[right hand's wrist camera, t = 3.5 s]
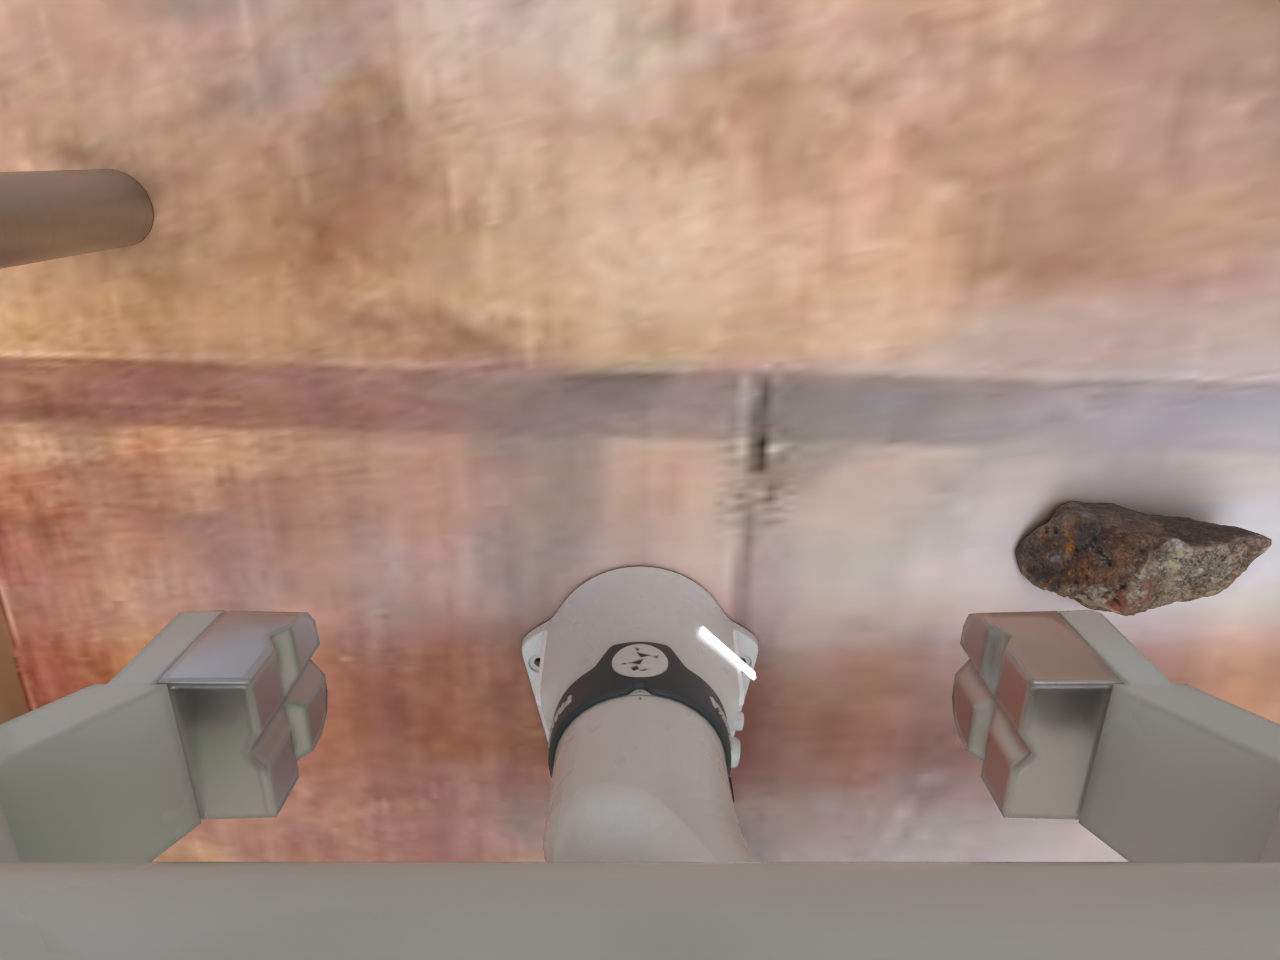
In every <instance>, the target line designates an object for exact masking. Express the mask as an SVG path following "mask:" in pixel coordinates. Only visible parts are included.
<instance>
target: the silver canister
mask: <svg viewBox="0 0 1280 960" xmlns="http://www.w3.org/2000/svg"><path fill="white" fill-rule="evenodd" d="M152 223H153V209H152V205H151V202H150V199H149V197H148V195H147V194H146V192H145V190H144V189H143V188H142V187H141V185H140V184H139V183H138V182H137V181H135V180H134V179H133V178H131V177H130V176H128V175H127V174H125V173H122V172H120V171H116V170H111V169H100V170H65V171H30V172H0V269H1V268H7V267H13V266H18V265H24V264H29V263H35V262H40V261H46V260H52V259H57V258H63V257H68V256H74V255H79V254H85V253H91V252H96V251H102V250H107V249H113V248H119V247H124V246H130V245H134V244H136V243H138V242H140V241H142V240H143V239H144V238H145V237H146V236H147V235H148V233H149V231H150V229H151V227H152Z"/></svg>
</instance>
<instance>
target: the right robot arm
mask: <svg viewBox="0 0 1280 960" xmlns="http://www.w3.org/2000/svg"><path fill="white" fill-rule="evenodd" d="M319 644H320V642H319V637H318V633H317V628H316V623H315V620H314V619H313V618H312V617H311V615H310V614H309V613H308V612H259V611H228V612H227V611H225V610H211V611H187V612H181V613H179V614H178V615H177V616H176V617H175V618H174V619H173V620H172V621H171V622H170V623H169V624H168V625H167V626H166V627H165V628H164V629H163V630H162V631H161V632H160V633H159V634H158V635H156V636H155V637H154V638H153V639H152V640H151V641H150V642H149V643H148V644H147V645H146V646H145V647H144V648H143V649H142V650H141V651H140V652H139V653H138V654H137V655H136V656H135V657H134V658H133V659H132V660H131V661H130V662H129V663H128V664H127V665H126V666H125V667H124V668H123V669H122V670H121V671H120V672H119V673H118V674H117V675H116V676H115V677H114V678H113V679H112V680H111V681H110V682H109V683H108V684H93V685H91V686H88V687H86V688H84V689H81V690H79V691H77V692H74V693H72V694H70V695H67V696H65V697H63V698H60V699H58V700H56V701H54V702H51V703H49V704H47V705H44V706H42V707H40V708H37V709H35V710H33V711H30V712H28V713H26V714H23V715H21V716H19V717H17V718H14V719H12V720H10V721H7V722H5V723H3V724H0V960H1280V725H1279V724H1277V723H1275V722H1273V721H1270V720H1268V719H1266V718H1263V717H1261V716H1259V715H1256V714H1254V713H1252V712H1249V711H1247V710H1245V709H1243V708H1240V707H1238V706H1236V705H1233V704H1231V703H1229V702H1226V701H1224V700H1222V699H1219V698H1217V697H1215V696H1213V695H1210V694H1208V693H1206V692H1203V691H1201V690H1199V689H1196V688H1194V687H1192V686H1189V685H1187V684H1172V683H1171V682H1170V681H1169V680H1168V679H1167V678H1166V677H1165V676H1164V675H1163V674H1162V673H1161V672H1160V671H1159V670H1158V669H1157V668H1156V667H1155V666H1154V665H1153V664H1152V663H1151V662H1150V661H1149V660H1148V659H1147V658H1146V657H1145V656H1144V655H1143V654H1142V653H1141V652H1140V651H1139V650H1138V649H1137V648H1136V647H1135V646H1134V645H1133V644H1132V643H1131V642H1130V641H1129V640H1128V639H1127V638H1126V637H1125V636H1124V635H1123V634H1122V633H1121V632H1120V631H1119V630H1118V629H1117V628H1116V627H1115V626H1114V625H1113V624H1112V623H1110V622H1109V621H1108V620H1107V619H1106V618H1105V617H1104V616H1103V615H1102V614H1101V613H1098V612H1095V611H1092V610H1078V611H1045V612H1004V613H975V614H969V615H968V617H967V619H966V621H965V624H964V626H963V631H962V637H961V642H960V644H961V646H962V647H963V649H964V650H965V652H966V653H967V655H968V657H969V658H970V660H969V661H968V662H967V663H966V664H965V665H964V666H963V667H962V668H961V669H960V670H959V671H958V672H957V673H956V674H955V679H954V687H953V695H952V701H953V713H954V721H955V724H956V727H957V731H958V734H959V737H960V738H961V740H962V742H963V744H964V746H965V748H966V750H967V751H969V752H970V753H972V754H973V755H975V756H977V757H978V758H980V759H981V760H983V766H982V772H981V777H982V779H983V781H984V783H985V784H986V786H987V788H988V790H989V792H990V793H991V795H992V797H993V799H994V801H995V802H996V804H997V806H998V808H999V810H1000V811H1001V813H1002V815H1003V817H1011V818H1048V819H1079V823H1080V824H1081V825H1082V826H1084V827H1085V828H1086V829H1088V830H1089V831H1090V832H1091V833H1093V834H1094V835H1095V836H1097V837H1098V838H1099V839H1100V840H1102V841H1103V842H1104V843H1106V844H1107V845H1108V846H1110V847H1111V848H1112V849H1113V850H1115V851H1116V852H1117V853H1119V854H1120V855H1121V856H1122V857H1124V858H1125V859H1126V860H1128V861H1129V862H758V860H757V859H756V858H755V856H754V855H753V853H752V852H751V850H750V849H749V847H748V845H747V843H746V841H745V839H744V837H743V835H742V832H741V829H740V826H739V822H738V819H737V815H736V811H735V808H734V803H733V802H734V796H733V789H732V782H731V778H730V777H729V775H730V769H731V768H735V767H737V766H738V763H739V759H740V740H739V739H738V738H737V737H734V734H735V731H742V729H743V725H744V714H743V713H742V712H741V710H742V707H743V704H744V700H745V697H746V693H747V690H748V686H749V683H750V680H751V679H752V680H754V679H755V678H756V674H755V671H753V669H754V666H755V663H756V659H757V656H758V641H757V638H756V637H755V636H754V635H753V634H752V633H751V632H749V631H748V630H747V629H745V628H743V627H742V626H740V625H738V624H736V623H735V622H733V621H731V620H730V619H729V618H728V617H727V616H726V615H725V613H724V612H723V611H722V609H721V608H720V607H719V605H718V604H717V602H716V601H715V600H714V599H713V597H712V596H711V595H710V594H709V593H708V592H707V591H706V590H704V589H703V588H702V587H701V586H700V585H698V584H697V583H695V582H694V581H692V580H690V579H689V578H687V577H685V576H683V575H680V574H678V573H675V572H672V571H669V570H665V569H661V568H655V567H644V566H636V567H625V568H619V569H615V570H611V571H608V572H605V573H602V574H600V575H597V576H595V577H593V578H591V579H590V580H588V581H586V582H585V583H583V584H582V585H580V586H579V587H578V588H577V589H576V590H574V591H573V592H572V593H571V594H570V595H569V596H568V597H567V599H566V600H565V601H564V602H563V604H562V605H561V607H560V608H559V609H558V611H557V612H556V614H555V615H554V616H553V617H552V618H551V619H550V620H549V621H547V622H545V623H544V624H542V625H540V626H538V627H537V628H535V629H534V630H532V631H531V632H529V633H528V634H527V635H526V636H525V637H524V639H523V641H522V656H523V659H524V662H525V666H526V669H527V673H528V676H529V679H530V683H531V686H532V690H533V693H534V696H535V700H536V703H537V707H538V710H539V714H540V717H541V720H542V724H543V727H544V731H545V734H546V737H547V741H548V749H549V769H550V775H551V778H552V780H551V787H550V794H549V802H548V809H547V816H546V823H545V830H544V838H543V848H544V856H545V861H546V862H151V861H153V860H154V859H155V858H157V857H158V856H159V855H160V854H162V853H163V852H164V851H166V850H167V849H168V848H169V847H171V846H172V845H173V844H175V843H176V842H177V841H179V840H180V839H181V838H182V837H184V836H185V835H186V834H188V833H189V832H190V831H191V830H193V829H194V828H195V827H197V826H198V825H199V824H201V819H231V818H267V817H277V815H278V813H279V811H280V810H281V808H282V806H283V804H284V802H285V801H286V799H287V797H288V795H289V794H290V792H291V790H292V788H293V786H294V785H295V783H296V781H297V779H298V777H299V772H298V766H297V760H299V759H300V758H302V757H303V756H305V755H307V754H308V753H310V752H311V751H313V750H314V748H315V746H316V744H317V742H318V740H319V738H320V736H321V734H322V731H323V727H324V723H325V718H326V714H327V685H326V678H325V674H324V673H323V672H322V671H321V670H320V669H319V668H318V667H317V666H316V665H315V664H314V663H313V662H312V661H311V660H310V658H311V657H312V655H313V653H314V652H315V650H316V649H317V647H318V646H319ZM536 658H540V662H539V661H537V660H536ZM740 658H744V660H743V661H742V660H741V659H740Z"/></svg>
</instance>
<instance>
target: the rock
mask: <svg viewBox="0 0 1280 960" xmlns="http://www.w3.org/2000/svg"><path fill="white" fill-rule="evenodd" d="M1270 546H1271V539H1269V538H1267V537H1265V536H1263V535H1260V534H1258V533H1254V532H1251V531H1248V530H1245V529H1242V528H1239V527H1234V526H1226V525H1218V524H1214V523H1208V522H1200V521H1195V520H1192V519H1189V518H1181V517H1164V516H1160V515H1147V514H1143V513H1139V512H1136V511H1132V510H1128V509H1126V508H1123V507H1121V506H1118V505H1115V504H1102V503H1087V504H1086V503H1082V502H1069V503H1066V504H1063V505H1061V506H1060V507H1059V508H1057V509H1056V510H1055V512H1054V514H1053V516H1052V518H1051V519H1050V520H1049V521H1048V523H1046V524H1044V525H1042V526H1040V527H1038V528H1036V529H1035V530H1034V531H1033V532H1032V533H1031V534H1030V535H1028V536H1026V537H1025V538H1024V539H1023V540H1022V541H1021V543H1020V545H1019V547H1018V549H1017V552H1016V554H1017V561H1018V565H1019V567H1020V572H1021V573H1022V574H1023V575H1024V576H1025V577H1026V578H1027V579H1028V580H1029V581H1030V582H1031V583H1032V584H1033V585H1035V586H1037V587H1039V588H1041V589H1042V590H1049V591H1052V592H1056V593H1057V594H1058V595H1060V596H1063V597H1066V596H1069V598H1070V599H1075V600H1076V601H1077V602H1079V603H1080V604H1081V605H1083V606H1085V607H1087V608H1089V609H1093V610H1102V611H1109V612H1115V613H1117V614H1121V615H1124V616H1128V615H1135V614H1136V613H1139V612H1145V611H1146V610H1148V609H1154V608H1156V607H1160V606H1163V605H1167V604H1171V603H1173V602H1175V601H1181V602H1183V601H1191V600H1195V599H1198V598H1201V597H1204V596H1205V597H1209V596H1213V595H1216V594H1218V593H1220V592H1221V591H1222V590H1224V589H1226V588H1227V587H1229V586H1230V585H1231V584H1232V583H1233V582H1234V580H1235V579H1236V578H1237V577H1239V576H1240V575H1241V574H1242V572H1244V571H1246V570H1247V567H1248V566H1249V565H1250V564H1251V563H1252V561H1253V560H1254V559H1256V558H1257V557H1258V556H1260V555H1261V554H1263V553H1264V552H1265V551H1266V550H1267V549H1268V548H1269V547H1270Z"/></svg>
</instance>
